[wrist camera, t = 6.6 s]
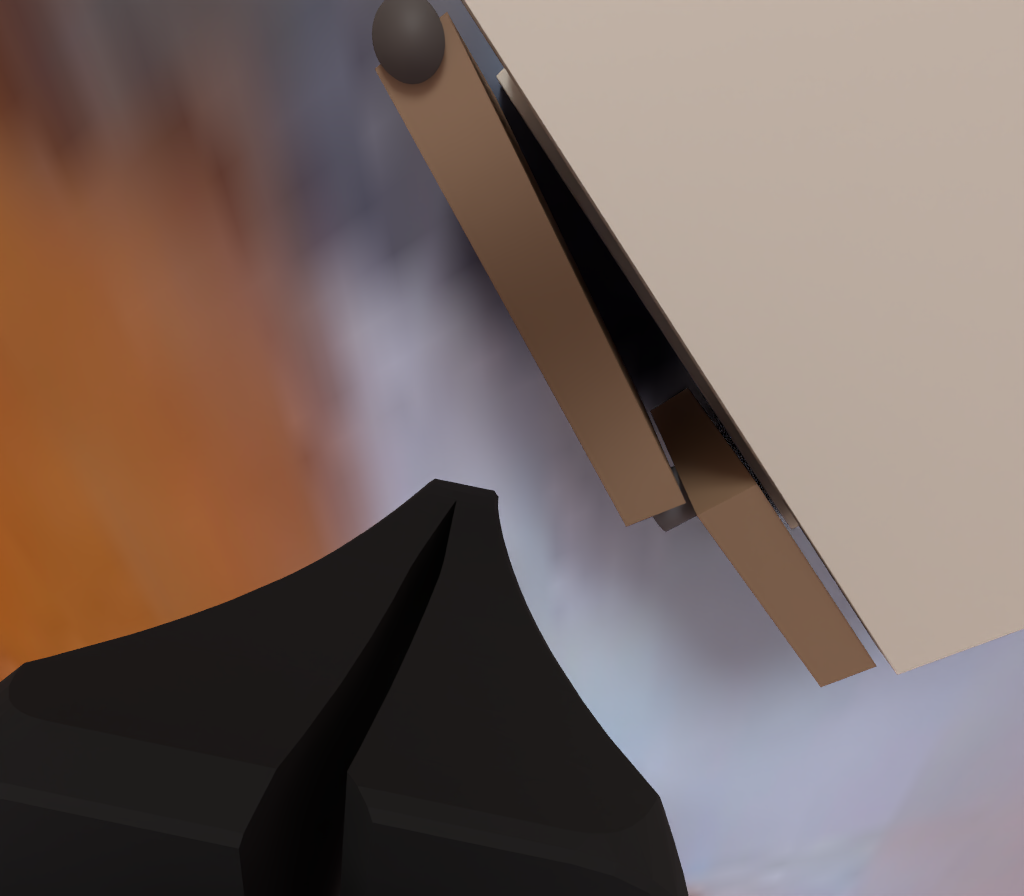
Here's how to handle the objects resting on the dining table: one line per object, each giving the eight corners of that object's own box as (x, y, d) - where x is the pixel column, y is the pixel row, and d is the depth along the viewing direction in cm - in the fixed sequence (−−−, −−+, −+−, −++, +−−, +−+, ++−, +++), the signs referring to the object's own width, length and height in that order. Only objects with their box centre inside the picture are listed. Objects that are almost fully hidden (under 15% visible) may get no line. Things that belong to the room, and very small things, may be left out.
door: (648, 414, 12) (696, 525, 8) (610, 431, 12) (636, 548, 8) (485, 77, 10) (425, -32, 5) (442, 108, 10) (351, 29, 6)
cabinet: (1146, 334, 11) (1582, 424, 6) (712, 551, 14) (785, 715, 9) (939, -346, 7) (1592, -1308, 3) (424, 157, 10) (319, 114, 6)
